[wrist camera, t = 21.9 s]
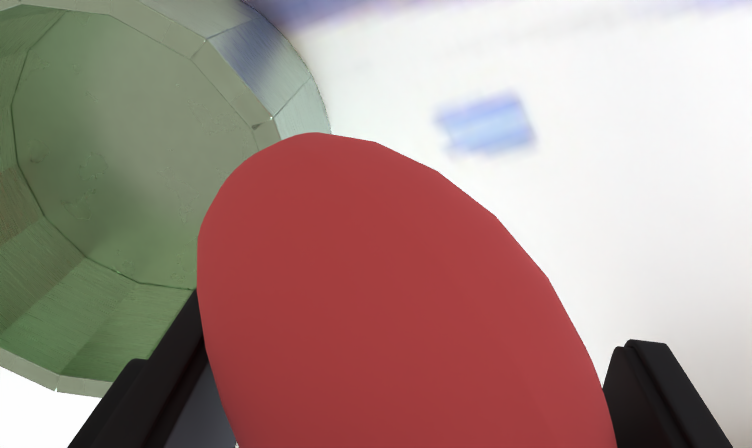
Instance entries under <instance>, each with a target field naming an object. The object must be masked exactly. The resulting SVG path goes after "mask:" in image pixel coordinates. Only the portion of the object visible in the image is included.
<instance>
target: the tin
mask: <svg viewBox="0 0 752 448" xmlns="http://www.w3.org/2000/svg"><path fill="white" fill-rule="evenodd" d="M310 132H320V133H326V134H331V130H330V125H329V121H328V117H327V113H326V109H325V106H324V103H323V101H322V98H321V96H320V93H319V91H318V88H317V86H316V84H315V82H314V80H313V77H312V76H311V73H310V72H309V71H308V69H307V67H306V65H305V64H304V62H303V61H302V59H301V58H300V57H299V55H298V54H297V52H296V51H295V50H294V48H293V47H292V45H291V44H290V43H289V42H288V41H287V40H286V39H285V38H284V36H283V35H282V34H281V33H280V32H279V31H278V30H277V29H276V28H275V27H274V26H273V25H272V24H271V23H270V22H269V21H267V19H266V18H265V17H264V16H262V15H261V14H260V13H258V12H257V11H256V10H255V9H253V8H251V7H250V6H248V5H247V4H245V3H244V2H242V1H241V0H0V366H1V367H3V368H5V369H8V370H10V371H12V372H14V373H16V374H18V375H20V376H23V377H25V378H27V379H29V380H31V381H33V382H36V383H38V384H40V385H42V386H44V387H46V388H49V389H51V390H53V391H57V392H62V393H69V394H77V395H84V396H91V397H99V398H103V397H104V395H105V394H106V392H107V391H108V390H109V388H110V387H111V385H112V384H113V383H114V381H115V380H116V378H117V377H118V375H119V374H120V373H121V371H122V370H123V368H124V367H125V366H126V364H127V363H128V362H129V361H130V360H132V359H134V358H139V359H147V360H148V359H149V357H150V356H151V354H152V353H153V351H154V350H155V348H156V347H157V345H158V344H159V342H160V341H161V339H162V338H163V336H164V335H165V333H166V332H167V330H168V329H169V327H170V326H171V324H172V323H173V321H174V320H175V318H176V317H177V315H178V314H179V312H180V311H181V309H182V308H183V306H184V305H185V303H186V302H187V300H188V299H189V297H190V296H191V294H192V293H193V291H194V290H195V289H196V288H197V241H198V235H199V231H200V227H201V224H202V222H203V219H204V217H205V215H206V212H207V211H208V209H209V207H210V205H211V204H212V202H213V200H214V198H215V196H216V195H217V193H218V191H219V189H220V187H221V186H222V185H223V183H224V182H225V180H226V179H227V178H228V177H229V175H230V174H231V173H232V172H233V171H234V170H235V169H236V168H237V167H238V166H239V165H240V164H242V163H243V162H244V161H245V160H247V159H248V158H249V157H251V156H252V155H254V154H255V153H257V152H259V151H261V150H263V149H265V148H267V147H269V146H271V145H273V144H275V143H277V142H279V141H281V140H284V139H286V138H289V137H292V136H294V135H298V134H303V133H310Z"/></svg>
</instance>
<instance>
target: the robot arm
mask: <svg viewBox="0 0 752 448" xmlns="http://www.w3.org/2000/svg"><path fill="white" fill-rule="evenodd" d="M602 390H603V393H604V396H605V399H606V402H607V406H608V409H609V413H610V416H611V420H612V424H613V429H614V433H615V438H616V443H617V448H733V446H732V445H731V443H730V442H729V440H728V439H727V437H726V436H725V434H724V433H723V431H722V429H721V428H720V426H719V425H718V423H717V422H716V420H715V419H714V417H713V415H712V414H711V412H710V411H709V409H708V408H707V406H706V405H705V403H704V401H703V400H702V398H701V397H700V395H699V394H698V392H697V391H696V389H695V387H694V386H693V384H692V383H691V381H690V380H689V378H688V377H687V375H686V373H685V372H684V370H683V369H682V367H681V366H680V364H679V363H678V361H677V359H676V358H675V356H674V355H673V353H672V352H671V350H670V349H669V347H668V346H667V345H666V344H664V343H658V342H650V341H641V340H633V339H630V340H628V341H627V342H626V344H625V346H624V347H620V346H618V347H616V348H615V349H614V351H613V354H612V357H611V361H610V364H609V368H608V371H607V374H606V378H605V381H604V385H603V388H602ZM235 445H236V438H235V436H234V433H233V431H232V428H231V426H230V423H229V421H228V419H227V416H226V414H225V411H224V409H223V406H222V403H221V400H220V396H219V393H218V389H217V386H216V383H215V379H214V376H213V372H212V369H211V366H210V362H209V359H208V355H207V352H206V348H205V341H204V335H203V328H202V322H201V316H200V309H199V303H198V296H197V288H196V289H195V290H194V291H193V293H192V294H191V296H190V297H189V299H188V300H187V302H186V303H185V305H184V306H183V308H182V309H181V311H180V312H179V314H178V315H177V317H176V318H175V320H174V321H173V323H172V324H171V326H170V327H169V329H168V330H167V332H166V333H165V335H164V336H163V338H162V339H161V341H160V342H159V344H158V345H157V347H156V348H155V350H154V351H153V353H152V354H151V356H150V357H149V359H148V360H147V359H139V358H134V359H132V360H130V361H129V362H128V363H127V364H126V366H125V367H124V368H123V370H122V371H121V373H120V374H119V375H118V377H117V378H116V380H115V381H114V383H113V384H112V385H111V387H110V388H109V390H108V391H107V392H106V394H105V395H104V397H103V398H102V399H101V401H100V402H99V404H98V405H97V406H96V408H95V409H94V411H93V412H92V414H91V415H90V416H89V418H88V419H87V421H86V422H85V423H84V425H83V426H82V428H81V429H80V430H79V432H78V433H77V435H76V436H75V437H74V439H73V440H72V442H71V443H70V445H69V446H68V447H67V448H235Z"/></svg>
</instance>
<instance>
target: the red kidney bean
mask: <svg viewBox="0 0 752 448" xmlns="http://www.w3.org/2000/svg"><path fill="white" fill-rule="evenodd" d="M197 296H198V303H199V309H200V316H201V322H202V328H203V335H204V341H205V348H206V352H207V355H208V359H209V362H210V366H211V369H212V372H213V376H214V379H215V383H216V386H217V389H218V393H219V396H220V400H221V403H222V406H223V409H224V411H225V414H226V416H227V419H228V421H229V423H230V426H231V428H232V431H233V433H234V436H235V438H236V441H237V443H238V446H239V448H617V443H616V438H615V433H614V429H613V424H612V420H611V416H610V413H609V409H608V406H607V402H606V399H605V396H604V393H603V390H602V387H601V384H600V381H599V378H598V375H597V373H596V370H595V368H594V365H593V362H592V360H591V358H590V356H589V354H588V352H587V350H586V347H585V346H584V344H583V342H582V340H581V338H580V336H579V334H578V333H577V331H576V329H575V327H574V325H573V323H572V322H571V320H570V318H569V316H568V314H567V312H566V310H565V309H564V307H563V305H562V303H561V301H560V299H559V298H558V296H557V294H556V292H555V290H554V288H553V286H552V285H551V283H550V281H549V279H548V277H547V276H546V275H545V274H544V273H543V271H542V270H541V269H540V268H539V267H538V266H537V264H536V263H535V262H534V261H533V260H532V259H531V257H530V256H529V255H528V254H527V253H526V251H525V250H524V249H523V248H522V247H521V246H520V244H519V243H518V242H517V241H516V240H515V239H514V237H513V236H512V235H511V234H510V233H509V232H508V230H507V229H506V228H505V227H504V226H503V224H502V223H501V222H500V221H499V220H498V219H497V217H496V216H495V215H493V214H492V213H491V212H489V211H488V210H487V209H485V208H484V207H483V206H482V205H480V204H479V203H478V202H476V201H475V200H474V199H473V198H471V197H470V196H469V195H467V194H466V193H465V192H463V191H462V190H461V189H460V188H458V187H457V186H456V185H454V184H453V183H452V182H451V181H449V180H448V179H447V178H445V177H444V176H443V175H442V174H440V173H439V172H438V171H436V170H433V169H431V168H429V167H427V166H425V165H423V164H421V163H419V162H417V161H414V160H412V159H410V158H408V157H406V156H404V155H402V154H400V153H398V152H395V151H393V150H391V149H389V148H387V147H385V146H383V145H381V144H379V143H376V142H373V141H367V140H361V139H355V138H349V137H343V136H337V135H331V134H326V133H320V132H310V133H303V134H298V135H294V136H292V137H289V138H286V139H284V140H281V141H279V142H277V143H275V144H273V145H271V146H269V147H267V148H265V149H263V150H261V151H259V152H257V153H255V154H254V155H252V156H251V157H249V158H248V159H247V160H245V161H244V162H243V163H242V164H240V165H239V166H238V167H237V168H236V169H235V170H234V171H233V172H232V173H231V174H230V175H229V177H228V178H227V179H226V180H225V182H224V183H223V185H222V186H221V187H220V189H219V191H218V193H217V195H216V196H215V198H214V200H213V202H212V204H211V205H210V207H209V209H208V211H207V212H206V215H205V217H204V219H203V222H202V224H201V227H200V231H199V235H198V241H197Z"/></svg>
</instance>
